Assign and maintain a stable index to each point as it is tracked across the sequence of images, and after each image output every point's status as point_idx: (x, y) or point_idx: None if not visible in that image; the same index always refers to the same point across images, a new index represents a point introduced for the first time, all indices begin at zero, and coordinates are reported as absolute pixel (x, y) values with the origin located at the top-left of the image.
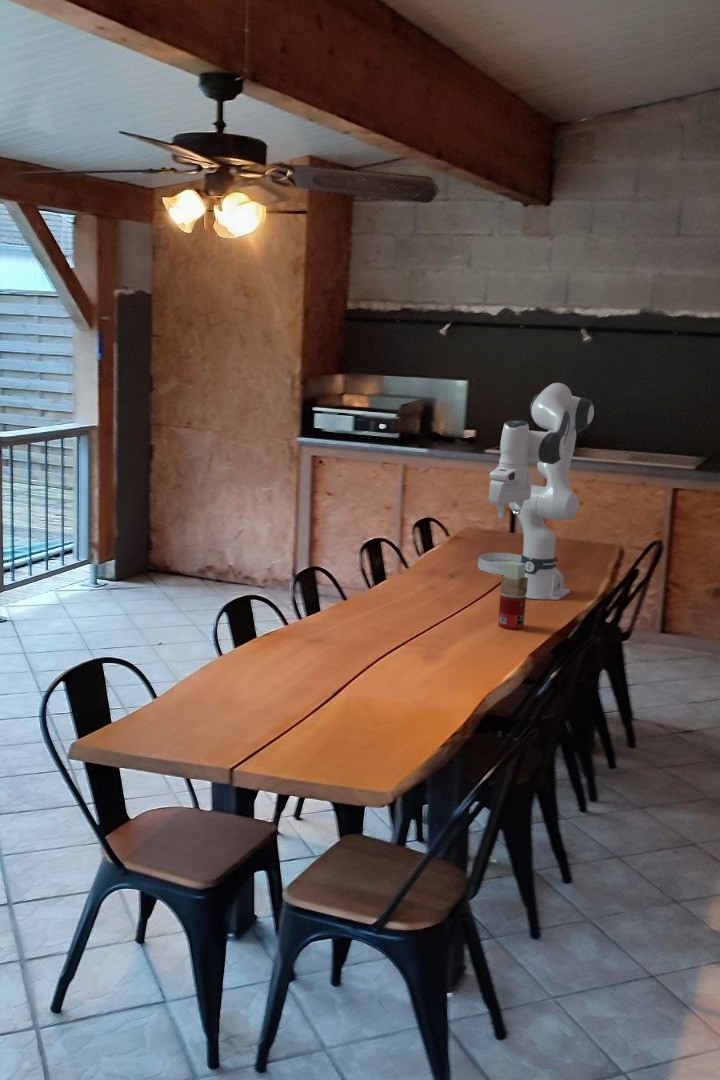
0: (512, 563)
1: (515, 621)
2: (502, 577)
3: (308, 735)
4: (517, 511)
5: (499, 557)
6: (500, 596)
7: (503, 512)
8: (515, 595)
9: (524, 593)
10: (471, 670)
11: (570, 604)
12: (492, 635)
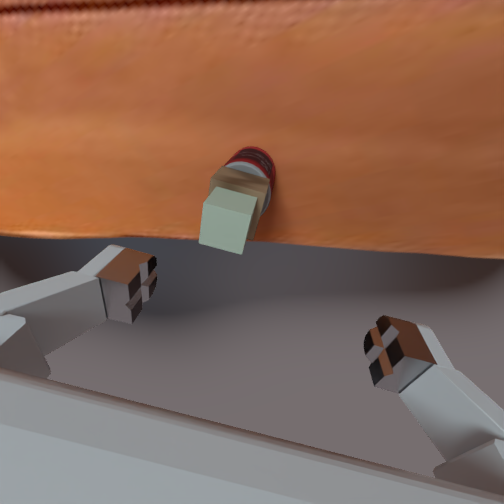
0: (214, 222)
1: None
2: (210, 181)
3: None
4: (372, 365)
5: None
6: (228, 163)
7: (98, 316)
8: None
9: None
10: (6, 189)
11: (500, 230)
12: (174, 160)
